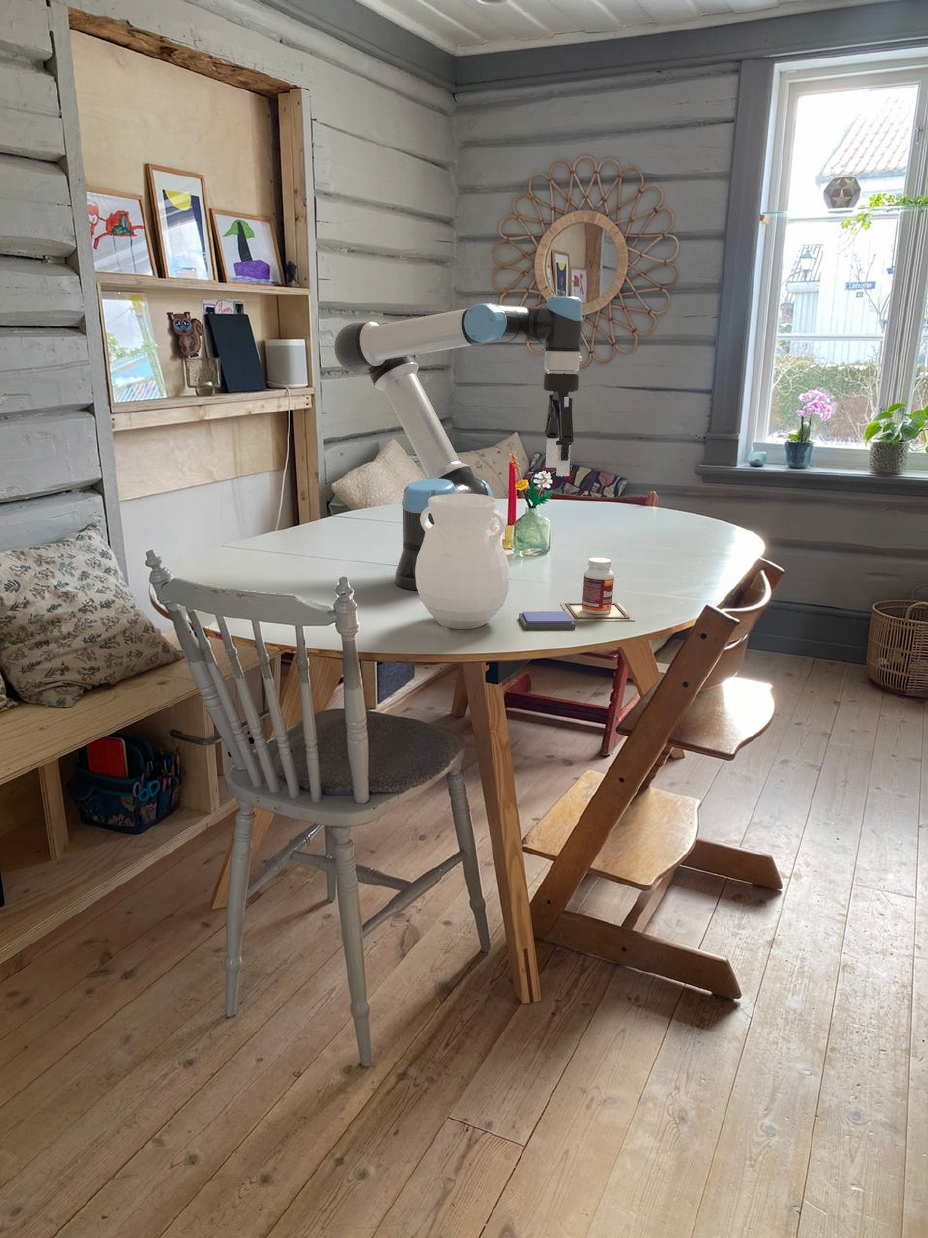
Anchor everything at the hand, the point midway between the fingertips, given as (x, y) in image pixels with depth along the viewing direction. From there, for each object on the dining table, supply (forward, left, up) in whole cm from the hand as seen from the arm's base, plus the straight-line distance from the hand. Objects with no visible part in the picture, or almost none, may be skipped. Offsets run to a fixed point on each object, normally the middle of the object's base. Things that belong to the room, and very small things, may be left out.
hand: (556, 471), depth 210 cm
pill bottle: (+6, -20, -27) cm, 34 cm away
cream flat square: (+6, -20, -27) cm, 34 cm away
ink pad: (-6, -28, -27) cm, 39 cm away
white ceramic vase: (-23, -27, -27) cm, 44 cm away
